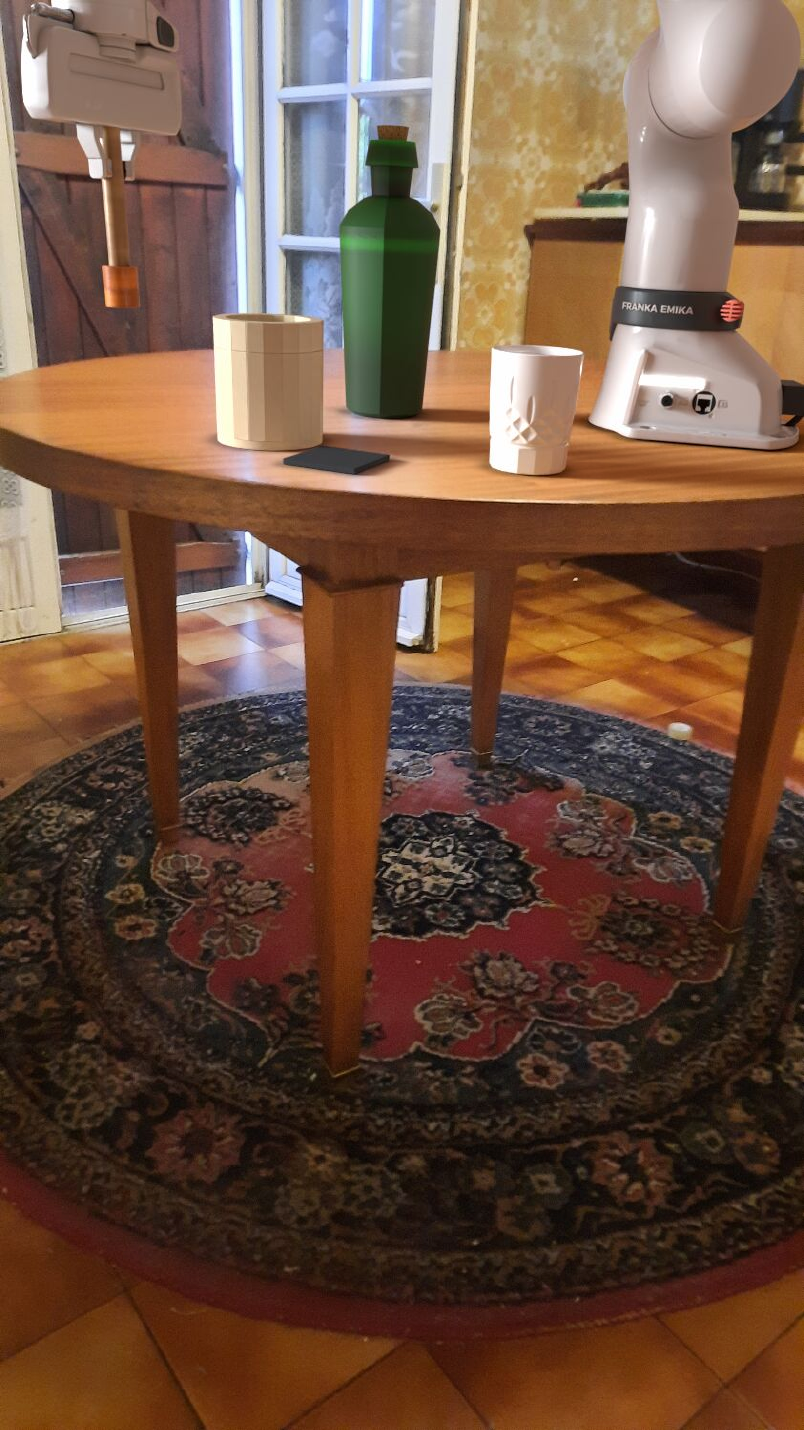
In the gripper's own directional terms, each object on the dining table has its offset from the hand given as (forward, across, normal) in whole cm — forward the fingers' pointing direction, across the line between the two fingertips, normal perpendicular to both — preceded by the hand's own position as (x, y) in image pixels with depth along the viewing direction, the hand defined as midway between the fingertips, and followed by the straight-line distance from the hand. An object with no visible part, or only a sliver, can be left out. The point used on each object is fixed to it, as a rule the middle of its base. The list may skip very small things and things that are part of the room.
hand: (113, 179), depth 105 cm
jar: (+22, -9, -24) cm, 34 cm away
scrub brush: (+12, 0, 0) cm, 12 cm away
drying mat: (+22, -14, -34) cm, 43 cm away
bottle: (+22, +12, -26) cm, 36 cm away
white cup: (+23, -6, -49) cm, 54 cm away
